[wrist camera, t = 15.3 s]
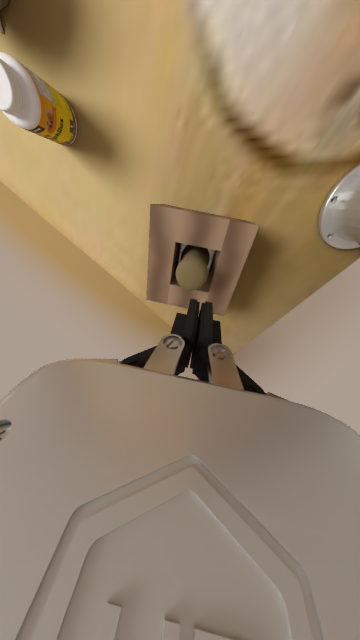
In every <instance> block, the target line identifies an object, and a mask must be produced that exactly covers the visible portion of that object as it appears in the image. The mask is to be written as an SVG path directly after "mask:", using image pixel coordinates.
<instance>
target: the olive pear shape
mask: <svg viewBox="0 0 360 640" xmlns="http://www.w3.org/2000/svg"><path fill="white" fill-rule="evenodd" d="M209 261H210V254H209V251H208V249H207V248H203V247H198V246H193V245H187V246H186V247H185V248H184V249H183V251H182V253H181V262H180V263H179V265H178V266H177V268H176V279H177V282H178V284H179V285H180V286H181V287H182V288H184V289H186V290H197V289H199V288H201V287H202V286H203V285H204V284H205V282H206V281H207V278H208V268H207V267H208V264H209Z"/></svg>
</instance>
